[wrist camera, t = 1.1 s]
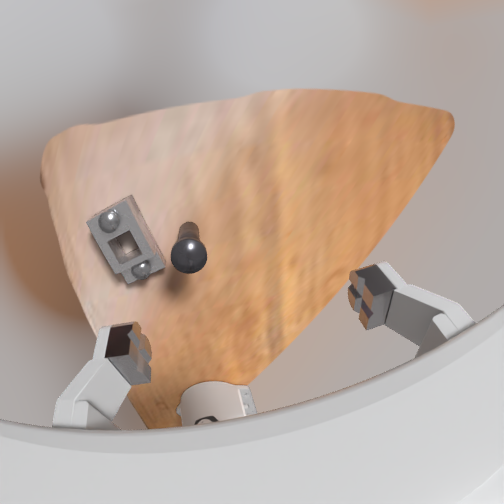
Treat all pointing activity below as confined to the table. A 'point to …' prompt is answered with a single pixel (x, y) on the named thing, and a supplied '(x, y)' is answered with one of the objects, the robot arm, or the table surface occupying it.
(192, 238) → the pin
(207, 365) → the table surface
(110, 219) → the slotted ball-knob block
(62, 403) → the robot arm
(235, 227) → the table surface
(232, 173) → the table surface
